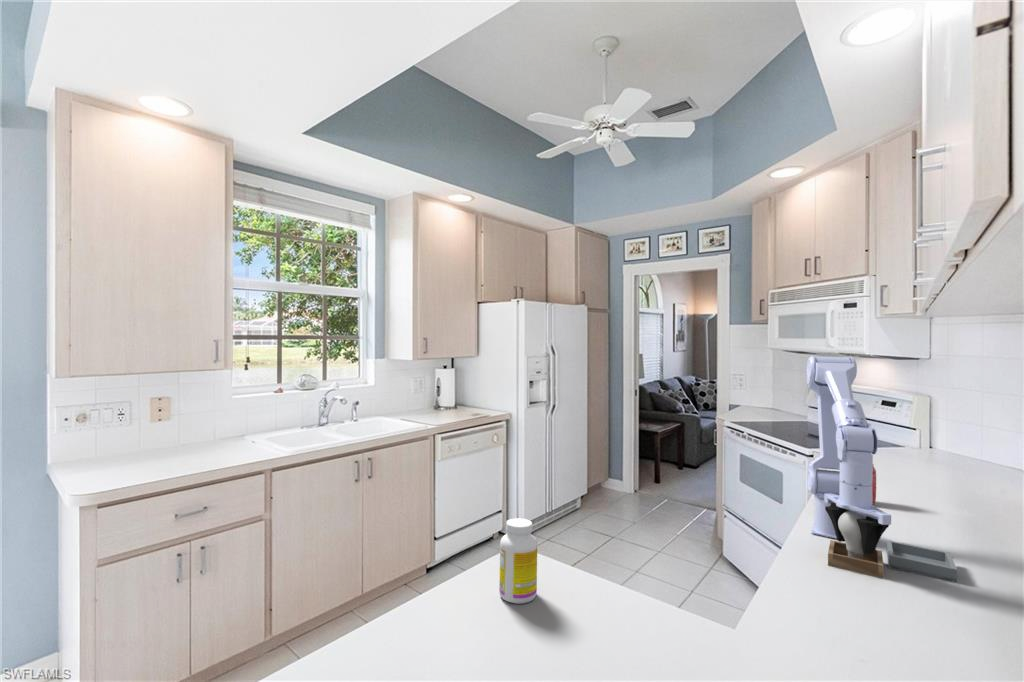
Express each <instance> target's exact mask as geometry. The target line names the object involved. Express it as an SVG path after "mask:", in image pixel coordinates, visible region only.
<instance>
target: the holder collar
mask: <svg viewBox="0 0 1024 682" xmlns="http://www.w3.org/2000/svg"><path fill="white" fill-rule="evenodd" d="M827 565H828V566H830V567H833V568H837V569H842V570H845V571H846V570H847V571H850V572H855V573H859V574H863V575H867V576H872V577H875V578H880V579H884V558H883V550H879V549H876V550H875V553H874V554H864V553H863V560H862V559H857V558H853V557H848V550H847V549H846V542H839V541H837V540H831V539H830V541H829V546H828V551H827Z"/></svg>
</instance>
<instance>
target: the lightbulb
mask: <svg viewBox="0 0 1024 682" xmlns="http://www.w3.org/2000/svg"><path fill="white" fill-rule="evenodd" d="M857 519H866V517H865V516H862V515H859V514H857V513H855V512H853V511H848V512H845V513H843V514H842V515H841V516H840V518H839V520H838V526H839V529H840V531H841V533H842V535H843V537H844V539H845V542H844V543H846V549H847V550H848V557H853V558H857V559H862V560H863V550H862V538H861V532H860V528H859V525H858V523H857Z"/></svg>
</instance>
